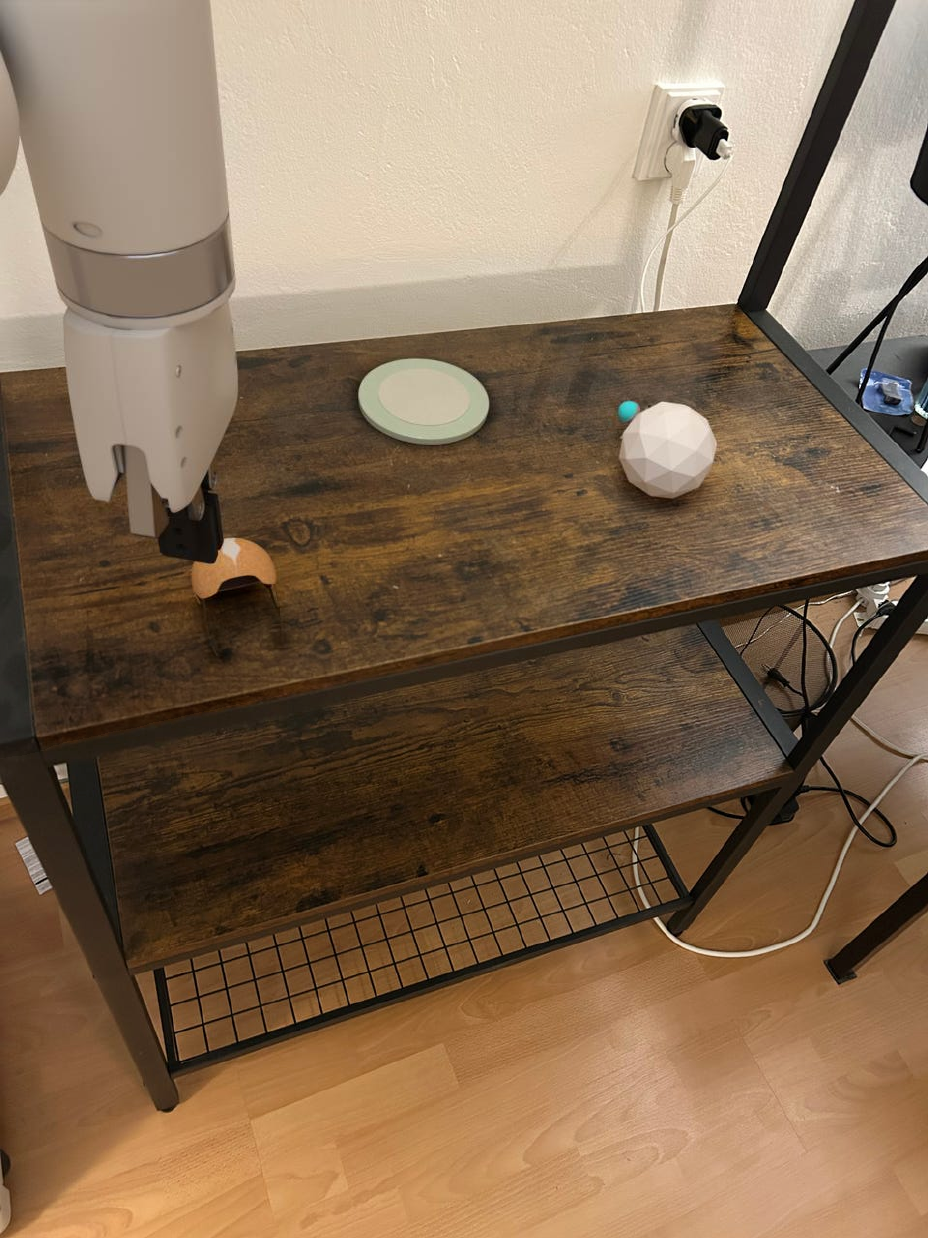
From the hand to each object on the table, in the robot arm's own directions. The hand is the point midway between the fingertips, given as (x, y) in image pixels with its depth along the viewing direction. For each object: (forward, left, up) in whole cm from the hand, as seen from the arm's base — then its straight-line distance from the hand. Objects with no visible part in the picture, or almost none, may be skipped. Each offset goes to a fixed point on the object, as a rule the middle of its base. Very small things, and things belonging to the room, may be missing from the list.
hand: (192, 549), depth 55 cm
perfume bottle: (+41, +12, -14) cm, 45 cm away
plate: (+25, +26, -14) cm, 39 cm away
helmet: (+3, +6, -14) cm, 16 cm away
